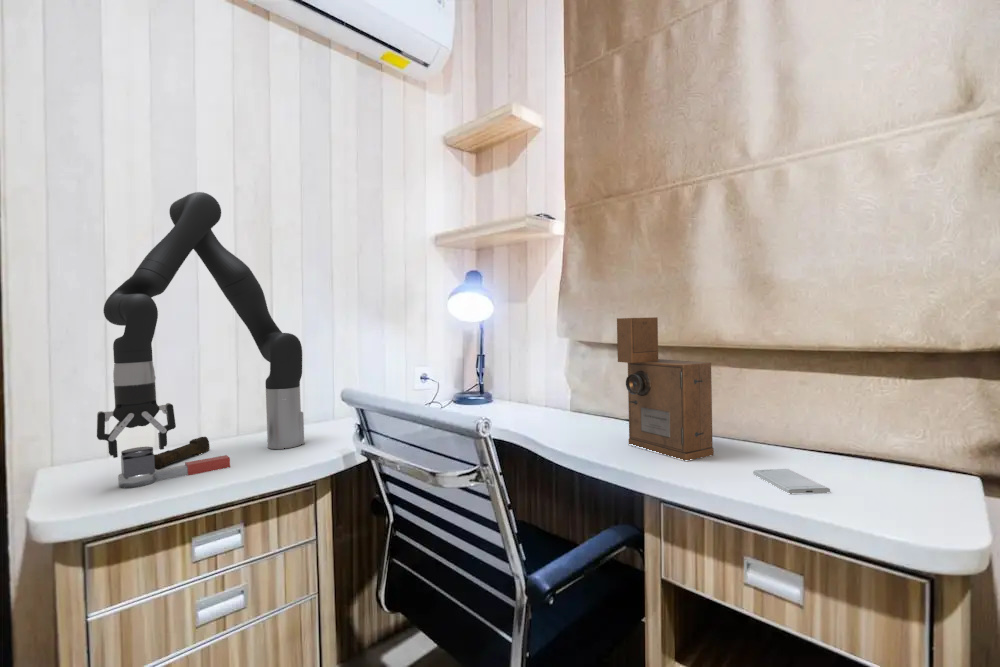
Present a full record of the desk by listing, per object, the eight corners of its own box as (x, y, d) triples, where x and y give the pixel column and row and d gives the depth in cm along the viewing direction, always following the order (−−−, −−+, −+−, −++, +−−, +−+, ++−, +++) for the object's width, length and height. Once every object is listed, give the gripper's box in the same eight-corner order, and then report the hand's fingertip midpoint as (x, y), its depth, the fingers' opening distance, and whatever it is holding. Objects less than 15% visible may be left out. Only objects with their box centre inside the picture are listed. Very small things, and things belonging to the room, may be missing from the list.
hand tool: (159, 471, 121) (159, 452, 121) (146, 470, 122) (145, 451, 122) (217, 451, 140) (217, 435, 140) (205, 450, 141) (205, 434, 141)
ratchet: (224, 463, 126) (224, 440, 126) (232, 468, 121) (231, 444, 121) (117, 483, 111) (116, 457, 111) (120, 490, 106) (119, 463, 106)
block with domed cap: (151, 467, 115) (151, 445, 115) (155, 472, 111) (154, 449, 111) (121, 472, 111) (120, 450, 111) (123, 478, 107) (122, 454, 107)
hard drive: (753, 469, 106) (788, 488, 94) (789, 468, 106) (830, 486, 94) (753, 477, 106) (788, 497, 94) (789, 476, 106) (830, 495, 94)
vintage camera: (617, 447, 132) (615, 318, 131) (655, 440, 139) (652, 317, 138) (674, 464, 115) (671, 316, 115) (713, 455, 122) (711, 315, 121)
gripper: (169, 377, 118) (173, 444, 118) (93, 384, 108) (97, 456, 109) (175, 379, 112) (179, 449, 113) (95, 387, 103) (99, 463, 103)
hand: (138, 452), depth 111 cm, fingers open, 8 cm apart
